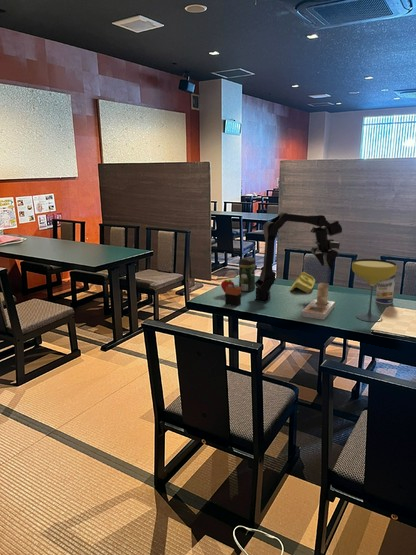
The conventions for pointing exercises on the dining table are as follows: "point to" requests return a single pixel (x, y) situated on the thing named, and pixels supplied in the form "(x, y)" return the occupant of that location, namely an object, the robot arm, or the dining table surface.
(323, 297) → the peg
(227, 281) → the strawberry
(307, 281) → the plastic component
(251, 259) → the coffee jar
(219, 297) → the dining table surface
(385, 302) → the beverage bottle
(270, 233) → the robot arm
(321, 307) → the white flat box
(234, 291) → the battery
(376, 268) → the cocktail glass
